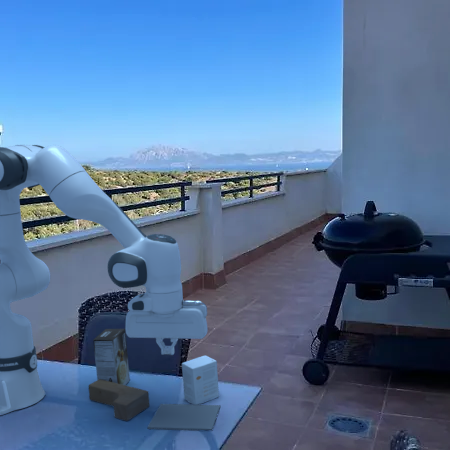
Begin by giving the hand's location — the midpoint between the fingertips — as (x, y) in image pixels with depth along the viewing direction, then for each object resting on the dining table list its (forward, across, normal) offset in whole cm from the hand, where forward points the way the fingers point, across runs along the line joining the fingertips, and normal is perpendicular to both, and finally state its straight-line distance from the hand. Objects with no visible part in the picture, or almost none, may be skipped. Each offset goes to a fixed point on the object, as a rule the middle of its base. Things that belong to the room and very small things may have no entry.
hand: (168, 354), depth 134 cm
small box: (+17, -6, -10) cm, 21 cm away
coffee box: (+18, +21, -17) cm, 32 cm away
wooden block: (+15, +9, -1) cm, 17 cm away
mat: (+17, -4, 0) cm, 17 cm away
